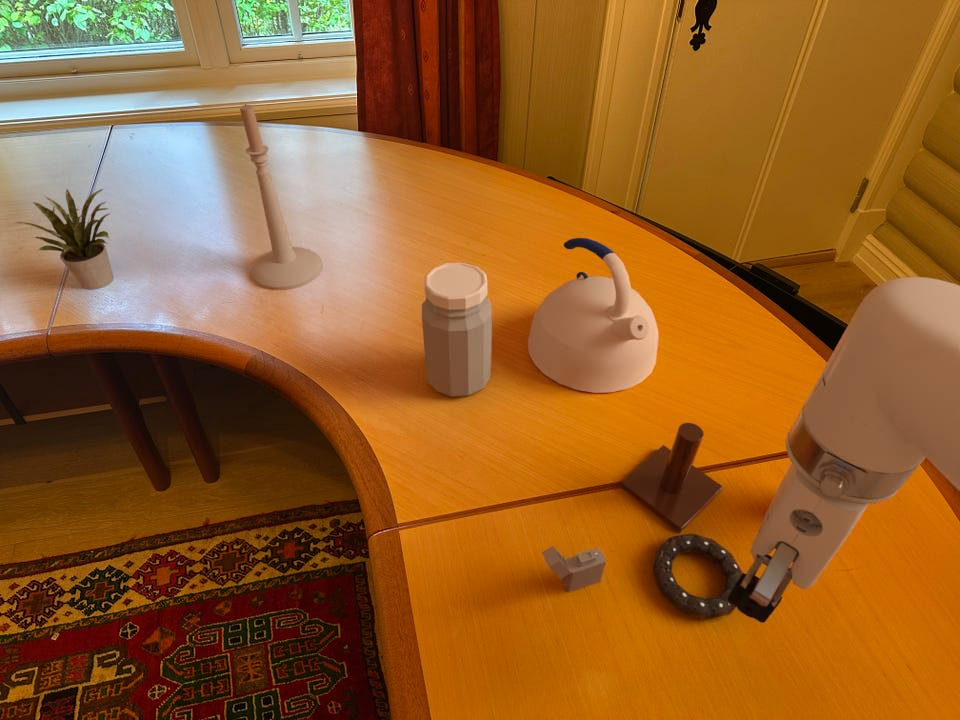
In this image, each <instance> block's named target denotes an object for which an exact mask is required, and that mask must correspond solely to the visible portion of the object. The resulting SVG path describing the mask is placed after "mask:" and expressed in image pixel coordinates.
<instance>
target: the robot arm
mask: <svg viewBox="0 0 960 720" xmlns="http://www.w3.org/2000/svg"><path fill="white" fill-rule="evenodd" d="M785 450H786V453H787V456H788V459H789V461H790V465H789V468H788V469H787V471H786V473H785V475H784V477H783V479H782V480H781V483H780V484H779V486H778V488H777V490H776V491H775V494H774V496H773V498H772V500H771V502H770V504H769V507H768V508H767V510H766V513H765V515H764V517H763V519H762V522H761V524H760V526H759V529H758V531H757V533H756V536H755V538H754V541H753V543H752V545H751V547H750V554H751V556H752V558H753V562H752V564H751V566H750V567H749V569H748V571H747V572H746V573H744V572H743V573H742V575H741V577H740V578H739V580H738V581H737V583H736V584H735V586H734V588H733V589H732V591H731V592H730V594H729V596H728V598H727V599H728V601H729V602H730V603H732V604H733V605H735V606H736V608H737V610H738V611H739V612H740V613H741V614H743V615H745V616H747V617H748V618H750V619H754V620H756V621H758V622H759V623H760V624H761V623H762V624H765V623H766V621H768V619H769V618H770V616H771V615H772V614H773V612H774V611H775V610H776V609H777V607H778V606H779V604H780V603H781V602H782V599H783V597H782V596H783V595H784V593H785V592H786V589H787V588H788V587H789V584H790V583H791V582H792V583H793V585H795V586H797V587H799V588H801V589H802V590H808V589H810V588H812V587H814V585H815V583H816V582H817V581H818V579H819V578H820V576H821V575H822V573H824V570H825V569H826V568H827V566H828V565H829V564H830V562H832V560H833V559H834V557H835V555H836V554H837V553H838V551H839V550H840V549H841V547H842V546H843V544H844V543H845V541H846V540H847V538H848V537H849V536H850V534H851V533H852V531H853V530H854V528H855V527H856V525H857V524H858V522H859V521H860V519H861V517H862V516H863V515H864V512H865V511H866V509H867V507H868V506H869V504H877V503H883V502H885V501H888V500H890V499H891V498H893V497H894V496H895V495H896V494H897V493H898V491H899V490H900V489H901V488H902V487H903V485H904V484H905V483H906V482H907V480H909V478H910V477H911V476H912V474H913V473H914V472H916V470H917V469H918V468H919V466H920V465H921V464H922V463H923V462H924V461H925V459H927V460H928V461H929V462H930V463H931V464H932V465H933V466H934V467H935V468H936V469H937V471H938V472H940V473H941V475H942V476H943V477H944V478H945V479H946V480H947V481H948V482H949V483H950V484H951V485H952V486H953V487H954V488H955V489H956V490H957V491H959V492H960V285H959V284H956V283H952V282H949V281H946V280H942V279H937V278H933V277H932V278H931V277H925V276H924V277H923V276H905V277H897V278H893V279H890V280H887V281H884V282H882V283H880V284H879V285H877V286H876V287H874V288H872V290H871V291H870V292H869V293H867V294H866V295H865V297H864V298H863V299H862V301H861V302H860V304H859V306H858V307H857V309H856V311H855V312H854V314H853V316H852V318H851V319H850V321H849V323H848V325H847V327H846V328H845V330H844V332H843V333H842V336H841V338H840V339H839V341H838V343H837V344H836V346H835V347H834V350H833V352H832V354H831V356H830V357H829V358H828V360H827V363H826V364H825V366H824V368H823V370H822V372H821V374H820V375H819V377H818V379H817V380H816V383H814V386H813V387H812V390H811V391H810V393H809V395H808V397H807V398H806V400H805V402H804V403H803V406H802V407H801V409H800V410H799V413H798V414H797V416H796V418H795V420H794V421H793V423H792V425H791V427H790V429H789V431H788V432H787V434H786V438H785ZM774 550H775V551H774ZM773 551H774V552H773ZM772 552H773V554H772ZM770 554H772V555H770ZM762 564H763V565H764V566H766V567H765V568H764V570H763V572H762V574H761V576H760V577H758V576H757V575H756V574H757V573H758V571H759V570H760V568H761V566H762Z"/></svg>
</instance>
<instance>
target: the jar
mask: <svg viewBox="0 0 960 720" xmlns="http://www.w3.org/2000/svg"><path fill="white" fill-rule="evenodd" d="M424 295H425V300H424V301H423V302H422V303H421V323H422V325H421V326H422V336H423V350H424V362H425V376H426V381H427V382H428V383H429V385H430V386H431V387H432V389H434V390H435V391H436V392H438V393H440V394H443V395H445V396H448V397H451V398H462V397H463V398H465V397H469V396H471V395H473V394H475V393H477V392H480V391H481V390H483V389H484V388H485V386H487V383H488V382H489V380H490V379H491V377H492V341H493V339H492V338H493V334H492V333H493V329H492V328H493V309H492V302H491V301H490V299H488V277H487V274H486V273H485V271H483V270H482V269H481V268H479V267H478V266H477V265H473V264H469V263H466V262H446V263H443V264H440V265H438V266H436V267H432V269H430V270H429V272H427V273H426V275H425V276H424Z"/></svg>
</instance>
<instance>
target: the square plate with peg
mask: <svg viewBox="0 0 960 720" xmlns="http://www.w3.org/2000/svg"><path fill="white" fill-rule="evenodd" d="M704 436H705V433H704V430H703V429H702V427H700V426H699V425H698V424H695V423H693V422H684V423H682V424H680V425H679V426H678V429H677V431H676V434H675V437H674V441H673V444H672V447H671V449H670V448H669V447H667V446H666V445H665V444H663V445H661V446H660V447H659V448H658V449H657V450H656V451H654V452H653V453H652V454H651V455H650V456H648V457H647V458H646V459H645V460H644V461H643V462H641V464H640V465H638V466H637V467H636V468H635V469H634V470H633V471H631V472H630V473H629V474H628V475H627V476H626V477H624V479H622V480H621V482H620V484H619V487H620V488H621V489H622V490H623V491H625V492H627V494H629V495H630V496H631V497H633V498H634V499H635V500H637V502H639V503H641V504H642V505H643V506H644V507H646V509H648V510H650V511H651V512H652V513H653V514H655V515H656V516H657V517H658V518H659V519H661V520H662V521H664V522H665V523H666V524H667V525H668V526H670V527H671V528H672V529H674V530H675V531H677V532H678V533H679V534H680V533H681V532H683V530H684V529H686V528H687V526H688V525H689V524H691V522H692V521H694V519H695V518H697V517H698V515H699V514H700V513H702V511H703V510H704V509H705V508H706V507H707V506H709V504H710V503H711V502H712V501H713V500H714V499H715V498H716V497H717V496H718V495H719V494H720V493H721V492H722V491H723V488H724V486H723V485H722V484H720V483H719V482H717V481H716V480H714V479H713V478H712V477H710V476H709V475H707V474H706V473H705V472H703V471H701V469H699V468H697V467H696V466H694V465H693V464H694V462H695V459H696V457H697V454H698V451H699V449H700V446H701V444H702V441H703V439H704Z"/></svg>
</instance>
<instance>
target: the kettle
mask: <svg viewBox="0 0 960 720" xmlns="http://www.w3.org/2000/svg"><path fill="white" fill-rule="evenodd" d="M563 247H564V248H565V249H566V250H574V249H576V248H581V249H585V250H587V251H589V252H592V253H593V254H595V255H596V256H597V257H598V258H600V259H601V260H602V261H603V262H604V263H605V265H606V266H607V268H608V269H609V272H610V275H611V277H606V276H601V275H600V276H599V275H592V276H591V275H590V276H589V275H588V273H586V272H584V271H579V272H578V273H576V278H574V279H571V280H569V281H566V282H564V283H562V284H561V285H560V286H559V287H557V288H556V289H554V290H553V291H551V292H550V293H549V294H547V295H546V296H545V298H544V299H543V300H542V302H541V303H540V305H539V306H538V308H537V309H536V310H535V312H534V314H533V318H532V321H531V326H530V330H529V334H528V339H527V350H528V355H529V357H530V358H531V360H532V362H533V364H534V365H535V367H537V368H538V370H540V371H541V373H542V374H544V376H546V377H548V378H549V379H551V380H553V381H554V382H556V383H557V384H559V385H562V386H564V387H567V388H570V389H573V390H576V391H581V392H585V393H586V392H588V393H599V394H600V393H615V392H618V391H624V390H627V389H628V390H629V389H631V388H632V387H634V386H636V385H639V384H640V383H642V382H643V381H644V380H645V379H647V377H649V376H650V375H651V374H652V372H653V370H654V368H655V366H656V364H657V354H658V347H659V329H658V324H657V321H656V318H655V314H654V313H653V310H652V308H651V307H650V305H648V303H647V301H646V300H645V299H644V298H643V297H642V296H641V294H640V293H639V292H638V291H636V290H635V289H634V288H632V285H631V282H630V277H629V273H628V271H627V269H626V267H625V264H624V263H623V261H622V260H621V258H620V257H619V256H618V255H617V254H616V252H615V251H613V250H612V249H610V248H609V247H608V246H607V245H605V244H603V243H601V242H599V241H596V240H594V239H591V238H587V237H575V238H570V239H568V240H567V241H565V242H563ZM581 276H582V277H581Z"/></svg>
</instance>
